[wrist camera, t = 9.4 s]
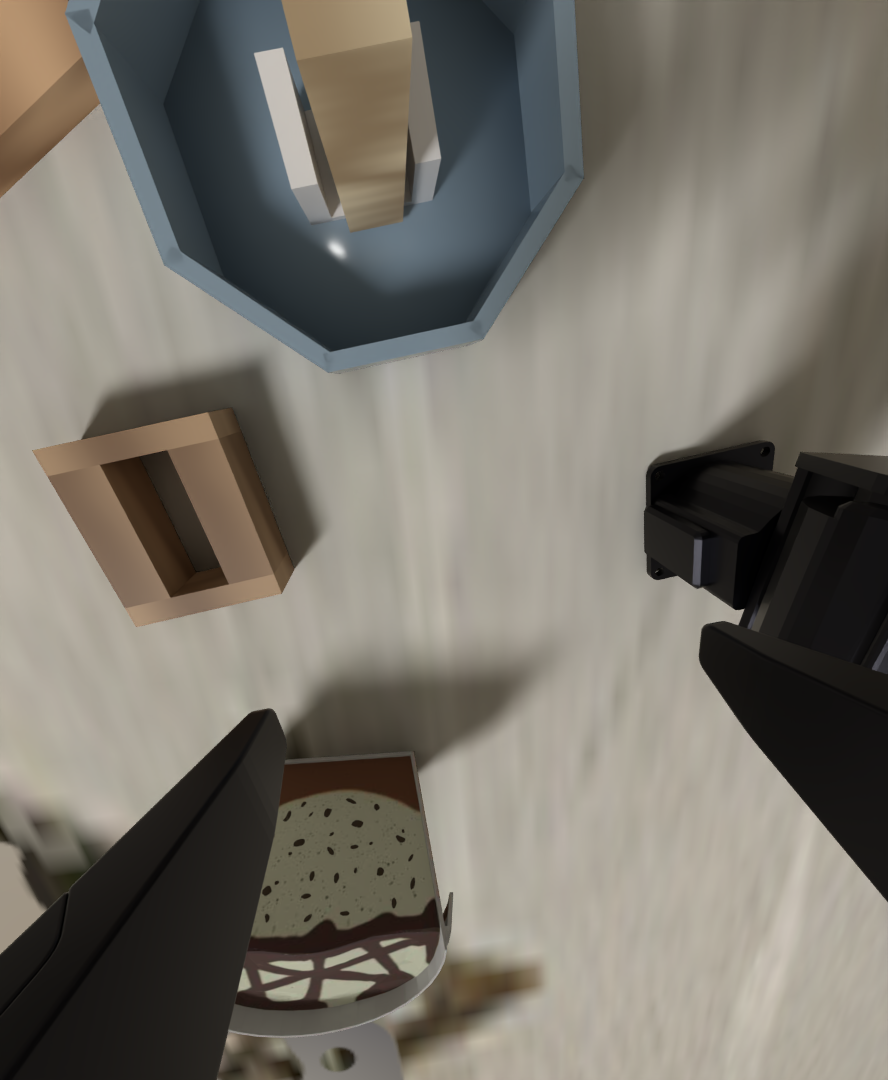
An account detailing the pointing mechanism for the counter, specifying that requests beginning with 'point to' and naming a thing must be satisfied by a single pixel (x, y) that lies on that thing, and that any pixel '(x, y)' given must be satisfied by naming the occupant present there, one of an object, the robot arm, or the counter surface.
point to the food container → (343, 901)
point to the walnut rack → (145, 529)
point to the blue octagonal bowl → (305, 177)
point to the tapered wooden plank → (38, 84)
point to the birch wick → (358, 98)
